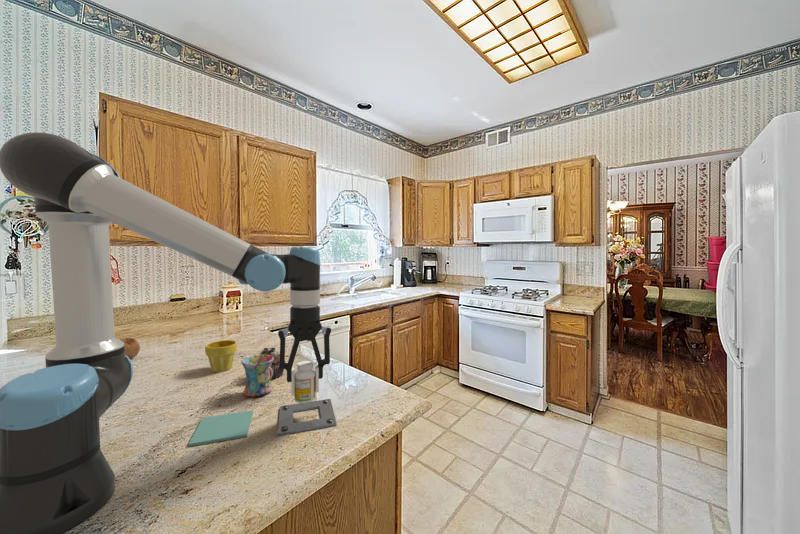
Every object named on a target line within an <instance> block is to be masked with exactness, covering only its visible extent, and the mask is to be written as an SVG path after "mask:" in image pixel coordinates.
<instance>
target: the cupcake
mask: <svg viewBox="0 0 800 534" xmlns="http://www.w3.org/2000/svg"><path fill="white" fill-rule="evenodd" d="M259 355H271V356H273V357H274V360H273V362H272V365H271V368H272V370H273V376H272V379H274V380H277V379H279V377H280V376H281V377H283V375H284V370H285V369H280V368H279V363H280V351H278V350H277V349H276V347H271V348H267V347H265V348H263V349H262V350H261V352H260V353H259ZM270 375H271V371H270ZM281 377H280V378H281ZM276 378H277V379H276ZM272 379H271V380H270V381H273V380H272Z"/></svg>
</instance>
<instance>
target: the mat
mask: <svg viewBox="0 0 800 534" xmlns="http://www.w3.org/2000/svg"><path fill="white" fill-rule="evenodd" d="M253 413H254V410H252V409H251V410H246V411H239V412H238V411H237V412H231V413H226V414H225V413H224V414H219V415H212V416H205V417H202V419H201V420H200V422H199V424H198V426H197V427H196V429H195V431H194V433H193V435H192V437H191V439H190V440H189V442H188V447H194V446H199V445H200V446H202V445H206V444H213V443H217V442H223V441H224V442H225V441H229V440H235V439H240V438H246V437H247V436H248V433H249V429H250V426H251V423H252V422H251V421H252V418H253Z"/></svg>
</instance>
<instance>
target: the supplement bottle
mask: <svg viewBox="0 0 800 534" xmlns="http://www.w3.org/2000/svg"><path fill="white" fill-rule="evenodd" d="M296 366H297V367H296V369H297V371H296V372H295V395H293V396H294V397H293V398H294V402H296V403H297V404H299V403H308V402H312V401H315V399H316V391H315V382H316V375H315V369H313V368H314V363H313V361H310V360H303V361H299V362H297V365H296Z"/></svg>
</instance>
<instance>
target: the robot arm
mask: <svg viewBox="0 0 800 534" xmlns="http://www.w3.org/2000/svg"><path fill="white" fill-rule="evenodd" d="M0 172H1V173H2V174H3V176H4V178H5V179H6V180H7V181H8V182H9V184H10V185H11V186H13V187H14V188H16V189H17V190H18V191H20V192H22V193H24V194H26V195H28V196H30V197H33V199H34V209H35V210H34V211H35V213H34V214H35V216H37V217H38V218H39V219H41V220H43V221H44V222H45V223H46V224H47V225H48V239H49V241H48V242H49V253H50V254H49V257H50V258H49V259H50V269H51V273H50V274H51V283H52V285H51V286H52V299H53V315H54V317H53V318H54V330H55V331H54V332H55V346H54V347H53V348H52V349H51V350H50V351H48V352H47V353H46V354H45V357H44V359H45V367H44V368H40V369H38V370H35V371H34V372H29V373H24V374H23V375H19V376H18V377H16V378H13V379H12V380H10V381H8V382H7V383H5V385H2V386H1V387H0V534H62V533H65V532H66V531H68V530H70V529H72V528H74V527H75V526H77V525H79V524H80V523H82V522H84V521H85V520H87V519H88V518H89V517H91V516H93V515H94V514H95V513H97V512H98V511H99V510H100V509H102V508H103V506H105V505H106V504H107V502H108V501H109V500H110V499H111V498H112V496H113V494H114V493H115V490H116V477H115V475H116V474H115V473H114V471H113V469H112V467H111V466H110V463H109V461H108V460H107V458H106V457H105V455H104V453H103V452H102V449H101V433H100V432H101V431H100V418H101V417H102V416H103V414H105V413H106V412H107V410H108V409H109V408H111V407H112V405H114V403H115V402H116V401H118V400H119V399H120V397H122V396H123V395H124V394H125V392H127V389H128V388H129V386H130V385H131V381H132V379H133V377H134V366H133V362H132V360H131V359H129V357H128V356H126V355H125V344H124V342H122V341H121V340H119V338H117V337H116V335H115V334H116V333H115V321H114V320H115V317H114V316H115V315H114V300H113V285H112V283H113V282H112V281H113V280H112V266H111V265H112V264H111V263H112V261H111V251H110V250H111V247H110V230H109V228H110V225H111V224H115V225H118V226H120V227H122V228H124V229H126V230H129V231H131V232H133V233H135V234H138V235H140V236H142V237H144V238H147V239H149V240H151V241H153V242H155V243H157V244H160V245H162V246H164V247H167V248H168V249H171V250H173V251H176V252H178V253H180V254H181V255H184V256H186V257H188V258H191V259H193V260H195V261H197V262H200V263H201V264H204V265H206V266H209V267H211V268H213V269H215V270H217V271H219V272H221V273H224V274H226V275H228V276H231V277H232V278H234V279H236V280H238V282H239V284H241V285H249V286H250V287H251V288H252V289H254V290H256V291H260V292H270V291H273V290H276V289H278V288H279V287H280V286H281V285H282V284H286V285H287V284H289V285H290V287H289V294H290V295H289V296H290V297H289V303H290V305H291V306H290V311H289V314H290V315H289V325H288V326H287V327H286V328H279V329H278V332H277V335H278V338H279V340H280V341H279V353H280V363H279V368H280V369H284V370H285V371H286V381H287V383H291V396H294V395H295V373H296V372H295V369H296V368H295V366H293V365H294V361H295V359H296V355H297V351H298V348H299V345H300V343H301V342H304V341H307V342H311V345H312V348H313V353H314V354H315V355H314V356H315V358H316V359H315V360H316V362H317V364H315V365H314V371H315V375H316V382H315V393H320V392H319V390H320V389H319V388H320V386H319V385H320V384H319V383H320V382H319V380H320V379H323V377H324V366H326V365H329V364H330V363H331V357H330V356H331V355H330V354H331V353H330V352H331V350H330V336H331V333H332V328H331V326H329V325H327V326H325V325H322V323H321V307H320V305H319V304H320V303H321V289H320V287H321V258H320V257H321V256H320V255H321V254H320V250H319V249H318V248H317V247H311V246H293V247H290V249H289V252H288V253H287V254H285V253H284V254H278V253H277V254H275V253H274V254H273V253H268V252H267V251H265V250H263V249H260V248H259V247H257V246H254V245H252V244H251V243H249V242H247V241H245V240H244V239H241V238H239V237H237V236H235V235H233V234H231V233H229V232H227V231H225V230H224V229H221V228H219V227H217V226H216V225H213V224H211V223H210V222H208V221H205V220H203V219H201V218H200V217H198V216H196V215H194V214H192V213H190V212H188V211H186V210H184V209H182V208H179V207H178V206H175V205H174V204H172V203H170V202H168V201H166V200H165V199H162V198H160V197H158V196H156V195H154V194H153V193H151V192H148V191H147V190H144V189H142V188H140V187H139V186H137V185H136V184H135V185H134V184H133V183H131V182H129V181H127V180H125V179H123V178H121V176H120V175H119V173H118V172H117V171H116V170H115V168H114V167H113V166H112V165H111V164H110V163H109V162H107V161H106V160H105V159H104V158H102V157H100V156H98V155H96V154H93V153H92V152H90V151H88V150H87V149H85V148H84V147H82V146H80V145H79V144H77V143H75V141H72V140H70V139H67V138H65V137H62V136H61V135H57V134H53V133H47V132H36V131H35V132H26V133H22V134H19V135H15V136H13V137H11V138H10V139H8V141H6V142H4V143H3V145H2V147H0ZM320 331H321V332H322V335H323V344H324V345H323V349H324V350H323V352H324V353H323V356H324V358H323V359H322V357H321V353H320V349H319V346H318V343H317V340H316V337H317V335H318V334H319V333H320ZM289 333H290V334H291V336H292V337H293V338H294V339H293V343H292V347H291V350H290V353H289V357H288V361H287V362H286V338H287V337H288V335H289Z"/></svg>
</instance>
